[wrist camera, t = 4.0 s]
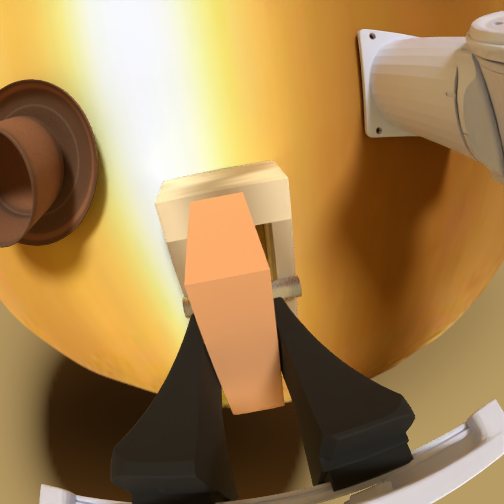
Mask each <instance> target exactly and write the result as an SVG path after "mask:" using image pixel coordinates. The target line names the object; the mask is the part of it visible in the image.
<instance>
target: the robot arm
mask: <svg viewBox="0 0 504 504" xmlns="http://www.w3.org/2000/svg"><path fill="white" fill-rule="evenodd" d="M369 34H372V36H373V39H371V38H370V37H369ZM357 36H358V44H359V53H360V62H361V72H362V84H363V99H364V118H365V133H366V135H367V136H369V137H372V138H376V137H399V136H420V137H423V138H426V139H428V140H431V141H433V142H435V143H438V144H440V145H443V146H445V147H447V148H450V149H452V150H454V151H456V152H459V153H461V154H463V155H465V156H467V157H469V158H472V159H474V160H476V161H478V162H480V163H482V164H483V165H485V166H486V167H487V168H488V169H489V171H490V174H491V177H492V178H493V179H495V180H496V181H498V182H500V183H502V184H503V185H504V11H500V12H495V13H491V14H488V15H485V16H482V17H480V18H478V19H476V20H475V21H474V22H473V23H472V25H471V27H470V30H469V31H468V32H467V34H466V37H426V38H420V37H415V36H410V35H404V34H398V33H392V32H385V31H377V30H368V29H362V30H360V31H358V34H357ZM378 127H379V132H378V133H376V129H377V128H378ZM273 301H274V310H275V319H276V328H277V338H278V347H279V357H280V366H281V371H282V374H283V377H284V380H285V382H286V385H287V388H288V390H289V393H290V396H291V399H292V402H293V405H294V409H295V413H296V417H297V421H298V425H299V429H300V432H301V437H302V441H303V445H304V449H305V453H306V457H307V461H308V466H309V470H310V474H311V479H312V483H313V487H309V488H305V489H301V490H297V491H292V492H288V493H283V494H277V495H272V496H266V497H260V498H253V499H246V500H238V501H236V500H237V498H238V494H237V490H236V485H235V481H234V477H233V472H232V467H231V462H230V457H229V452H228V446H227V441H226V435H225V428H224V423H223V414H222V391H221V384H220V381H219V379H218V376H217V374H216V371H215V369H214V366H213V364H212V361H211V358H210V356H209V353H208V351H207V348H206V345H205V343H204V340H203V337H202V335H201V332H200V329H199V326H198V324H197V321H196V318H195V315H194V313H193V314H192V315H191V317H190V321H189V324H188V327H187V331H186V333H185V336H184V339H183V342H182V344H181V347H180V349H179V352H178V354H177V357H176V359H175V361H174V363H173V365H172V368H171V370H170V372H169V374H168V376H167V378H166V380H165V381H164V383H163V385H162V387H161V389H160V390H159V392H158V394H157V395H156V397H155V398H154V400H153V401H152V403H151V405H150V406H149V407H148V409H147V410H146V411H145V413H144V414H143V415H142V417H141V418H140V419H139V420H138V422H137V423H136V424H135V425H134V427H133V428H132V429H131V430H130V431H129V432H128V433H127V435H126V436H125V437H124V438H123V439H122V440H121V441H120V442H119V443H118V444H117V445H116V446H115V447H114V450H113V454H112V461H111V474H110V479H111V481H112V482H113V483H114V484H115V485H117V486H119V487H121V488H123V489H124V490H127V491H129V492H131V493H132V503H130V502H120V501H119V502H118V501H110V500H102V499H96V498H90V497H84V496H78V495H75V494H73V493H72V492H69V491H67V490H64V489H61V488H57V487H53V486H49V485H45V484H42V485H41V493H40V503H39V504H317V503H320V502H324V501H328V500H331V499H335V498H338V497H341V496H344V495H347V494H350V493H353V492H356V491H359V490H362V489H365V488H367V487H370V486H372V487H370V488H368V489H366V490H363V491H361V492H358V493H356V494H354V495H351V497H350V500H348V501H346V502H345V503H344V504H432V503H433V502H435V501H437V500H439V499H440V498H442V497H444V496H445V495H447V494H448V493H450V492H452V491H453V490H455V489H456V488H458V487H460V486H461V485H463V484H464V483H466V482H467V481H469V480H470V479H471V478H473V477H474V476H476V475H477V474H478V473H480V472H481V471H483V470H484V469H485V468H486V467H488V466H489V465H490V464H492V463H493V462H494V461H496V460H497V459H498V458H499V457H501V456H502V455H503V454H504V412H503V411H502V409H501V407H500V405H499V404H498V402H497V401H496V399H493V400H492V401H490V402H489V403H487V404H486V405H484V406H483V407H481V408H480V409H478V410H477V411H476V412H475V413H473V414H472V415H471V416H470V417H469V418H468V419H467V421H466V422H465V423H463V424H462V425H460V426H458V427H456V428H455V429H453V430H451V431H449V432H448V433H446V434H444V435H442V436H440V437H439V438H437V439H435V440H433V441H431V442H429V443H427V444H425V445H423V446H421V447H419V448H417V449H415V450H413V451H410V449H409V447H408V444H407V442H408V441H409V440H408V437H407V435H406V431H407V430H408V429H409V427H410V426H411V425H412V423H413V421H414V419H415V415H414V413H413V411H412V409H411V407H410V406H409V404H408V403H407V401H406V400H405V399H404V397H403V396H402V395H401V394H399V393H396V392H394V391H392V390H389V389H388V388H386V387H383V386H381V385H380V384H378V383H376V382H374V381H372V380H370V379H369V378H367V377H365V376H364V375H362V374H361V373H359V372H357V371H356V370H354V369H353V368H351V367H350V366H348V365H347V364H346V363H344V362H343V361H342V360H340V359H339V358H338V357H336V356H335V355H334V354H333V353H331V352H330V351H329V350H328V349H327V348H326V347H325V346H323V345H322V344H321V343H320V342H319V341H318V340H317V339H316V338H315V337H314V336H313V335H312V334H311V333H310V332H309V331H308V330H307V328H306V327H305V326H304V325H303V324H302V323H301V322H300V321H299V319H298V318H297V317H296V316H295V315H294V313H293V312H292V311H291V309H290V308H289V307H288V305H287V304H286V302H285V301H284V299H283V298H282V297H277V298H273ZM378 483H379V484H378ZM375 484H377V485H375ZM373 485H374V486H373Z"/></svg>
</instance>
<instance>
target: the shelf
mask: <svg viewBox="0 0 504 504" xmlns="http://www.w3.org/2000/svg"><path fill="white" fill-rule="evenodd" d="M240 192H243V194H244V197H245V199H246V202H247V205H248V208H249V211H250V214H251V216H252V219H253V222H254V225H260V224H263V225H264V232H265V240H266V248H267V256H268V264H269V268H270V274H271V283H272V292H273V298H277V297H282V298H283V299H284V301H285V302H286V304H287V305H288V307H289V308H290V309H291V311H292V312H293V313H294V315H295V316H296V317H297V318H298V312H297V297H301V295H302V292H301V285H300V281H299V278H298V276H297V275H296V274H295V258H294V243H293V229H292V216H291V204H290V192H289V181H288V177H287V176H286V175H285V174H284V173H283V171H282V170H281V169H280V168H279V167H278V166H277V164H276V163H275V162H274V161H273V160H271V161H265V162H259V163H252V164H246V165H241V166H235V167H229V168H224V169H219V170H213V171H208V172H203V173H198V174H194V175H189V176H184V177H180V178H175V179H171V180H166V181H163V184H162V186H161V189H160V191H159V194H158V197H157V199H156V202H155V206H156V210H157V213H158V217H159V220H160V223H161V227H162V230H163V233H164V237H165V240H166V243H167V246H168V249H169V252H170V255H171V259H172V262H173V265H174V268H175V271H176V274H177V277H178V280H179V282H180V285H181V288H182V291H183V294H184V297H183V308H184V312H185V315H186V317H187V318H190V317H191V315H192V314H193V313H194V312H193V309H192V307H191V304H190V301H189V298H188V295H187V292H186V289H185V286H184V282H185V263H186V247H187V233H188V220H189V209H190V202H193V201H198V200H203V199H208V198H213V197H218V196H224V195H229V194H234V193H240Z"/></svg>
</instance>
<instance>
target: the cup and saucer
mask: <svg viewBox="0 0 504 504" xmlns="http://www.w3.org/2000/svg"><path fill="white" fill-rule="evenodd" d="M97 174H98V156H97V148H96V142H95V138H94V134H93V131H92V128H91V126H90V123H89V121H88V119H87V117H86V115H85V113H84V112H83V110H82V109H81V107H80V106H79V104H78V103H77V102H76V101H75V100H74V99H73V98H72V97H71V96H70V95H69V94H68V93H67V92H65V91H64V90H63V89H61V88H59V87H58V86H56V85H54V84H51V83H49V82H46V81H41V80H34V79H30V80H21V81H17V82H14V83H11V84H9V85H7V86H5V87H4V88H2V89H0V247H8V246H11V245H14V244H15V243H17V242H18V243H22V244H26V245H33V246H40V245H47V244H51V243H54V242H57V241H59V240H61V239H63V238H64V237H66V236H67V235H69V234H70V233H71V232H72V231H73V230H74V229H75V228H76V227H77V226H78V225H79V223H80V222H81V221H82V219H83V218H84V216H85V214H86V213H87V211H88V209H89V206H90V204H91V201H92V198H93V195H94V191H95V188H96V182H97Z"/></svg>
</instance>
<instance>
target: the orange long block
mask: <svg viewBox="0 0 504 504" xmlns="http://www.w3.org/2000/svg"><path fill="white" fill-rule="evenodd" d="M184 286H185V289H186V292H187V295H188V298H189V301H190V304H191V307H192V309H193V312H194V315H195V318H196V321H197V324H198V326H199V329H200V332H201V335H202V337H203V340H204V343H205V345H206V348H207V351H208V353H209V356H210V358H211V361H212V364H213V366H214V369H215V371H216V374H217V376H218V379H219V381H220V384H221V386H222V389H223V391H224V393H225V396H226V398H227V401H228V403H229V405H230V408H231V410H232V412H233V415H237V414H243V413H249V412H255V411H260V410H265V409H270V408H275V407H280V406H284V396H283V386H282V376H281V366H280V357H279V347H278V338H277V328H276V319H275V310H274V301H273V292H272V283H271V274H270V268H269V265H268V262H267V259H266V257H265V254H264V251H263V248H262V245H261V242H260V239H259V236H258V234H257V231H256V228H255V225H254V222H253V219H252V216H251V214H250V211H249V208H248V205H247V202H246V199H245V197H244V194H243V192H240V193H234V194H229V195H224V196H218V197H213V198H208V199H203V200H198V201H193V202H190V209H189V220H188V233H187V247H186V263H185V282H184Z"/></svg>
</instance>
